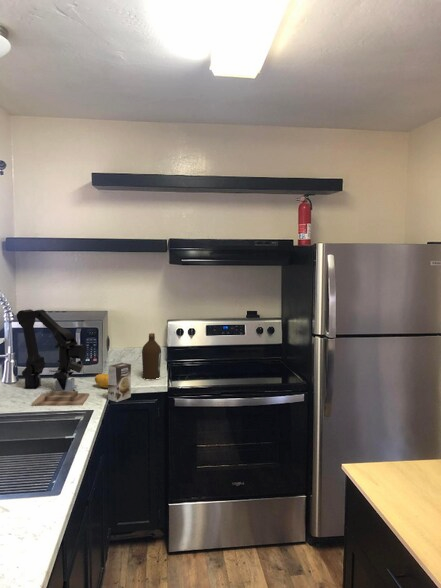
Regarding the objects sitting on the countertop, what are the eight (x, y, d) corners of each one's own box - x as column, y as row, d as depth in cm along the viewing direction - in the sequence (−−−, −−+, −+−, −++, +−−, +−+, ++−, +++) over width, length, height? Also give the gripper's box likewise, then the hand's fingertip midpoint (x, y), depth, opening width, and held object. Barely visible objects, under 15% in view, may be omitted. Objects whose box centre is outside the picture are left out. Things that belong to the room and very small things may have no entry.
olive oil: (142, 380, 237) (142, 335, 235) (141, 375, 247) (141, 332, 246) (161, 380, 239) (162, 335, 238) (160, 375, 250) (160, 332, 248)
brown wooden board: (31, 405, 193) (31, 399, 192) (42, 395, 208) (42, 389, 207) (82, 405, 195) (82, 398, 195) (89, 395, 210) (89, 389, 210)
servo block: (52, 392, 212) (51, 379, 212) (54, 390, 217) (54, 376, 216) (75, 392, 213) (75, 379, 213) (77, 390, 218) (77, 376, 217)
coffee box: (117, 402, 200) (117, 367, 199) (107, 399, 204) (107, 365, 203) (131, 397, 208) (131, 363, 207) (121, 394, 211) (121, 362, 210)
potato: (101, 384, 229) (101, 371, 228) (124, 387, 223) (124, 374, 223) (92, 387, 222) (92, 374, 222) (115, 391, 217) (115, 377, 216)
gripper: (77, 361, 205) (77, 393, 206) (85, 353, 224) (85, 383, 225) (52, 361, 204) (53, 394, 205) (63, 353, 223) (63, 383, 224)
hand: (65, 388), depth 215 cm, fingers closed on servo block, 4 cm apart
